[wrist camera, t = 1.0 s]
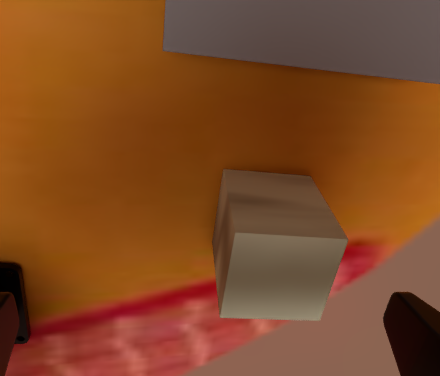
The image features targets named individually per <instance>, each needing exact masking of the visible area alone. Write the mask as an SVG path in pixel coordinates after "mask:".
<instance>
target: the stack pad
mask: <svg viewBox="0 0 440 376" xmlns="http://www.w3.org/2000/svg"><path fill="white" fill-rule="evenodd" d="M163 51H168V52H177V53H185V54H193V55H202V56H210V57H218V58H227V59H235V60H243V61H252V62H260V63H268V64H277V65H285V66H293V67H302V68H310V69H318V70H327V71H335V72H343V73H352V74H360V75H368V76H377V77H385V78H393V79H402V80H410V81H418V82H427V83H435V84H440V0H166V4H165V21H164V38H163Z"/></svg>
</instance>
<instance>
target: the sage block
mask: <svg viewBox="0 0 440 376" xmlns="http://www.w3.org/2000/svg"><path fill="white" fill-rule="evenodd" d="M347 242H348V238H347V236H346V235H345V233H344V231H343V230H342V228H341V226H340V225H339V223H338V221H337V220H336V218H335V216H334V215H333V213H332V211H331V210H330V208H329V206H328V205H327V203H326V201H325V199H324V198H323V196H322V194H321V193H320V191H319V189H318V188H317V186H316V184H315V183H314V181H313V179H312V178H311V176H304V175H292V174H279V173H267V172H255V171H243V170H231V169H223V174H222V180H221V187H220V194H219V201H218V207H217V214H216V221H215V227H214V234H213V241H212V244H213V254H214V264H215V274H216V284H217V294H218V304H219V314H220V318H246V319H277V320H308V321H309V320H310V321H320V319H321V315H322V313H323V310H324V307H325V304H326V302H327V299H328V296H329V293H330V290H331V287H332V285H333V282H334V279H335V276H336V273H337V270H338V268H339V265H340V262H341V259H342V256H343V253H344V251H345V248H346V245H347Z"/></svg>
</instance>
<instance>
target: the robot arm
mask: <svg viewBox="0 0 440 376" xmlns="http://www.w3.org/2000/svg"><path fill="white" fill-rule="evenodd" d="M9 271H10V272H13V273H10V272H9ZM383 322H384V327H385V330H386V333H387V336H388V339H389V342H390V345H391V348H392V351H393V354H394V357H395V360H396V363H397V366H398V369H399V372H400V375H401V376H440V312H439V311H437V310H436V309H435V308H433V307H432V306H430V305H429V304H427V303H426V302H424V301H423V300H421V299H420V298H418V297H417V296H416V295H414V294H412V293H410V292H395V293H393V294H392V295H391V297H390V300H389V303H388V305H387V308H386V311H385V313H384V317H383ZM30 335H31V333H30V326H29V319H28V312H27V306H26V299H25V292H24V285H23V278H22V271H21V268H20V267H19V266H17V265H15V264H8V263H0V376H5V373H6V370H7V366H8V363H9V359H10V356H11V352H12V349H13V345H14V344H24V343H27V342H28V340H29V338H30Z"/></svg>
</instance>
